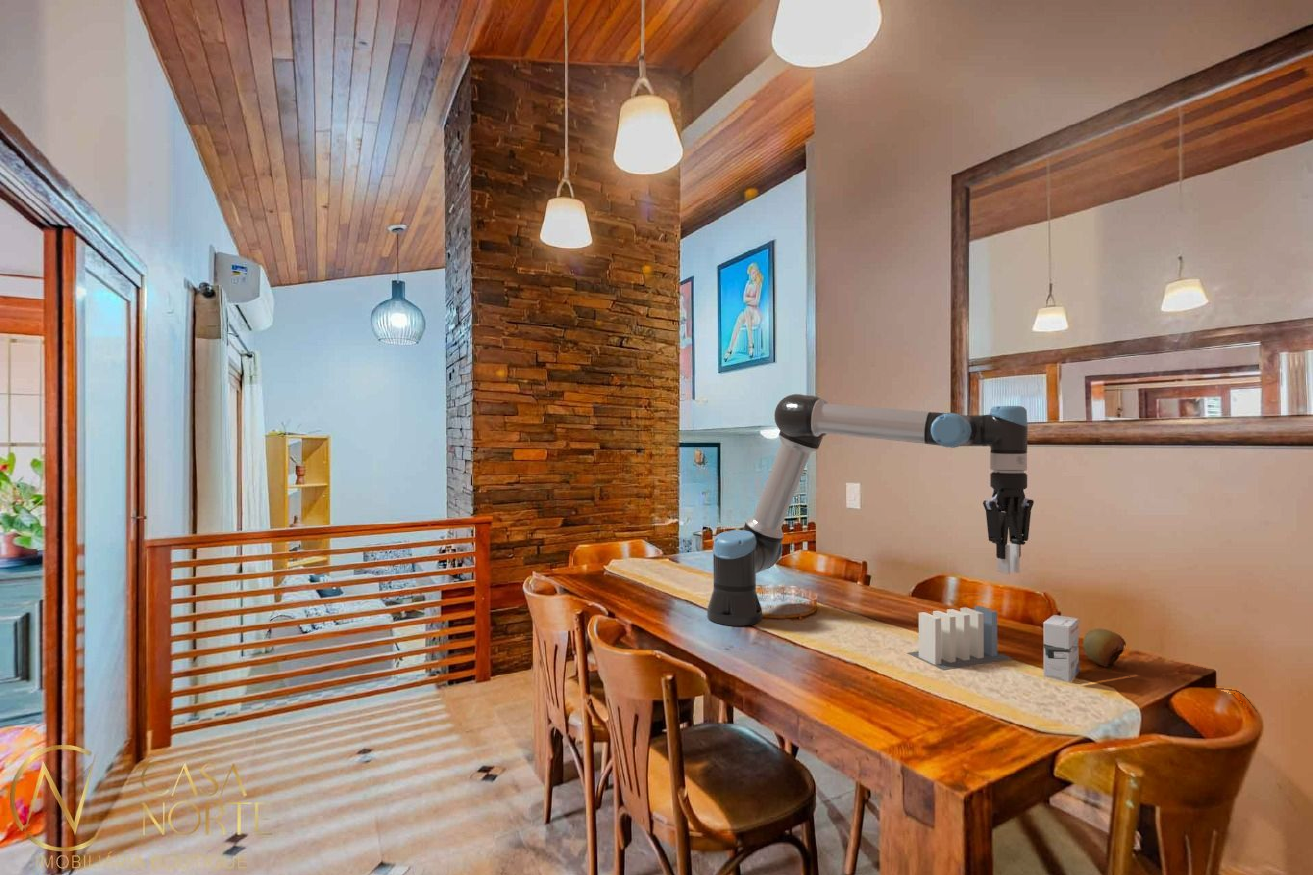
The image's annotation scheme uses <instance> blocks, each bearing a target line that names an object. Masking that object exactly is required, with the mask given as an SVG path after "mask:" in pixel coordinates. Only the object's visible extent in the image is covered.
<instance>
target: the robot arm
mask: <svg viewBox="0 0 1313 875" xmlns="http://www.w3.org/2000/svg"><path fill="white" fill-rule="evenodd" d="M774 423H775V425H776V427H777V429H778V430H779V433H778V437H779V439H780V442H781V443H780V446H779V447H778V452H777V454H776V456H775V459H774V461H773V464H772V467H771V470H770V472H769V475H768V477H767V480H766V483H765V486H764V487H763V491H762V493H761V495H760V498H759V501H758V503H757V506H756V508H755V511H754V514H753V516H752V517H751V518H747V519H746V521H745V523H744V526H743V528H742V529H736V530H735V529H732V530H727V531H723V532H720V533H718V534H717V535H716V536H715V537H714V539H713V546H712V553H713V555H712V556H713V557H712V559H713V561H712V562H713V563H712V564H713V570H712V571H713V591H712V593H711V597H710V600H709V603H708V606H707V612H706V617H707V619H708V620H709V621H711V622H713V623H716V624H719V625H723V626H725V625H726V626H734V627H735V626H737V627H738V626H739V627H740V626H742V627H744V626H750V625H755V624H758V623H760V622H762V621H763V609H762V606H761V603H760V598H759V596H758V592H757V587H756V586H757V584H756V581H757V577H756V576H757V574H758V573H761V572H763V571H766V570H768V569H770V568H772V567H773V566H774V565H775V564H777V563H778V562H779V560H780V558H781V557H782V554H783V544H782V542H783V538H784V536H785V535H784V532H783V530H782V527H783V524H784V523H785V522H784V521H785V519H786V517H787V514H788V512H789V509H790V506H791V504H792V501H793V499H794V496H795V493H796V491H797V489H798V487H799V484H800V481H801V479H802V477H803V473H804V471H805V468H806V467H807V462H808V461H809V458H810V455H811V454H812V453H813V452H816V451H818V450H819V447H820V445H821V443H822V441H823V437H824V436H826V435H837V436H847V437H857V438H866V439H875V440H876V439H877V440H885V441H893V442H895V441H896V442H904V443H905V442H906V443H913V444H922V445H923V444H925V445H930V446H931V445H932V446H941V447H943V448H951V449H953V448H954V449H955V448H958V447H990V451H989V452H990V453H989V454H990V456H989V459H990V462H989V465H990V466H989V467H990V468H989V469H990V470H991V471H992V472H991V473H990V483H989V485H990V488H992V489H993V491H992V492H993V493H992V494H991V498H989V500H983V501H982V505H983V508H984V509H985V515H986V516H985V517H986V525H987V527H986V528H987V535H988V536H987V537H988V541H989V542H991V543H992V544H995V545H996V546H995V547H996V553H995V555H996V558H997V572H998V573H1004V574H1007V575H1008V574H1011V572H1012V573H1016V574H1019V573H1020V558H1021V555H1022V554H1021V553H1022V552H1021V546H1024V545H1026V542H1027V541H1029V536H1030V525H1031V524H1030V523H1031V515H1032V514H1031V513H1032V509H1033V505H1034V503H1035V502H1034V499H1031V498H1030V499H1029V498H1027V497H1026V493H1025V492H1024V490H1026V489H1027V488H1028V474H1027V473H1026V472H1025V471H1027V470H1028V429H1029V428H1028V413H1027V408H1025V407H1024V406H1021V405H1002V406H1001V405H997V406H992V407H991V408H990V411H989V414H983V415H982V414H981V415H980V414H979V415H977V414H976V415H974V414H969V415H968V414H966V415H965V414H960V413H957V412H956V413H955V412H933V411H925V410H924V411H923V410H913V409H911V410H910V409H901V408H900V409H898V408H886V407H873V406H863V405H862V406H860V405H859V406H858V405H847V404H846V405H845V404H836V403H828V402H827V401H825V400H824V399H822V398H820V397H818V396H815V395H805V394H799V393H798V394H797V393H795V394H790V395H787V396H785V397H783V398H782V399H781V400H780V401H779V402H778V403H777V405H776V407H775V410H774ZM1008 537H1009V539H1008ZM1008 540H1009V542H1008Z"/></svg>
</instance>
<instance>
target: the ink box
mask: <svg viewBox="0 0 1313 875" xmlns="http://www.w3.org/2000/svg"><path fill="white" fill-rule="evenodd" d="M1079 622H1080V619H1079V618H1077V617H1071V616H1064V615H1057V614H1053V615H1052V616H1050V617H1049V618H1047V619H1046V620H1044V622H1042V625H1043V633H1042V634H1043V677H1045V678H1049V679H1054V680H1056V681H1061V682H1064V683H1071V682H1072V681H1073V680H1074V679H1075V677H1076V676H1078V674H1079V673H1080V659H1079V658H1080V652H1079V650H1080V648H1079V646H1080V645H1079V643H1080V642H1079V638H1080V636H1079V634H1080V632H1079V631H1080V630H1079V628H1080V626H1079V625H1080V624H1079Z"/></svg>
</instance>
